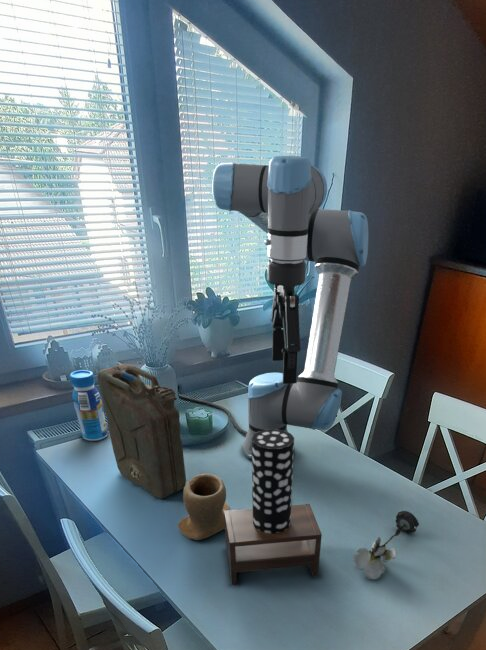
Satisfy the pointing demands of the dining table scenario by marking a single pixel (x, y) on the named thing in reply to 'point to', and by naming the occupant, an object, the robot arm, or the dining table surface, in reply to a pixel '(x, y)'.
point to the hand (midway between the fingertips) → (283, 371)
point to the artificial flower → (383, 548)
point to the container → (143, 429)
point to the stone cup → (204, 507)
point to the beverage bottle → (88, 406)
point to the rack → (272, 542)
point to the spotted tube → (272, 479)
